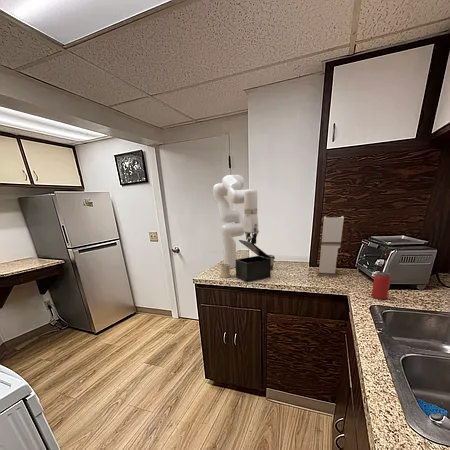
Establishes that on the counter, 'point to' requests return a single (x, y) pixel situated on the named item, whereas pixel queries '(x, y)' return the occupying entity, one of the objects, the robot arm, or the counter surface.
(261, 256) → the food container
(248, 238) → the black box lid
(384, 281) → the beer can
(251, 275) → the black lidded box
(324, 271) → the stepped grey pillar
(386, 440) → the counter surface
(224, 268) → the cup
